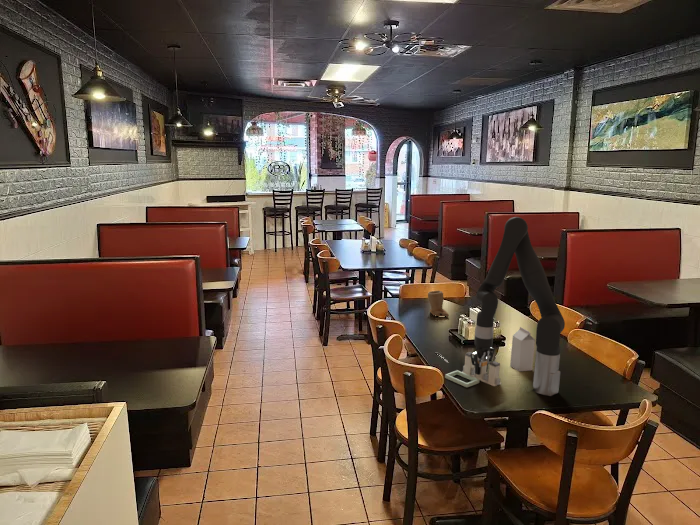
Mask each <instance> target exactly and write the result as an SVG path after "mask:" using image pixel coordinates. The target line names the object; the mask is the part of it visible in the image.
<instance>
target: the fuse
mask: <svg viewBox="0 0 700 525" xmlns="http://www.w3.org/2000/svg"><path fill="white" fill-rule="evenodd" d="M478 359H480V358H478ZM478 364H479V361H478ZM480 367H481V371H480V375H477V374H476V378H479V379H481V380H482V379H483V374H486V373H487V372H486V369H487V358H484V359H483V362H482V363H481V366H480Z"/></svg>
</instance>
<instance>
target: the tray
mask: <svg viewBox="0 0 700 525" xmlns="http://www.w3.org/2000/svg"><path fill="white" fill-rule="evenodd" d="M457 375H458V376H460V377H462V378H465V379H466V380H469V382H465V381H463V380H461V379H459V378H456V377H455V376H457ZM444 378H445V379H446V380H448V381H451V382H453V383H456V384H458V385H461V386H463V387H464V388H469V387H472V386H475V385H477V384H479V383H480V380H479V379H477V378H475V377H472V376H470V375H468V374H465V373H463V371H460V370H458V369H456V370H454V371H451V372H449V373H445V374H444Z"/></svg>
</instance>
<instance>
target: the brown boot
mask: <svg viewBox="0 0 700 525" xmlns="http://www.w3.org/2000/svg"><path fill="white" fill-rule="evenodd" d="M427 298H428V302H429V304H430V310H429V313H430V314H432V315H433V316H434V315H436V316H446V317H445V318H448V317H450V315H449V313H448V312H447V311H446V310H445V309H444V308H443V304H444V292H443V291H441V290H432V291H428V293H427ZM436 316H435V317H436Z"/></svg>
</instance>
